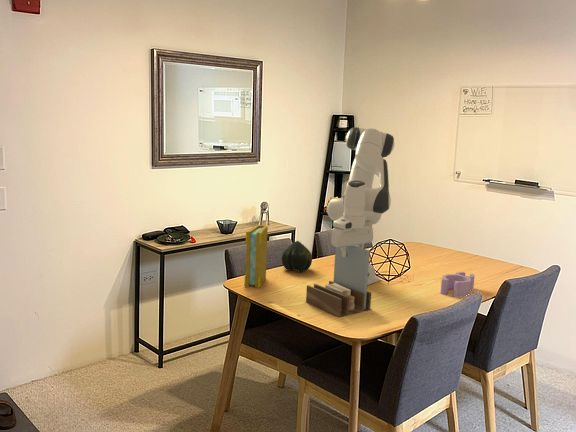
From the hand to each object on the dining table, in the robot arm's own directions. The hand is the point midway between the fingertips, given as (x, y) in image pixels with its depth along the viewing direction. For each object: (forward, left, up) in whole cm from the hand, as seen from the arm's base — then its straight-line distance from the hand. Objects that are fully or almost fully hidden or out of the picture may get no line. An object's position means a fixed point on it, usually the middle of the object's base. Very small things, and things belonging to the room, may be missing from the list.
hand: (351, 255), depth 234 cm
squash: (-15, -54, -22) cm, 60 cm away
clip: (-58, +10, -22) cm, 63 cm away
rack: (+6, 0, -22) cm, 22 cm away
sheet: (0, 0, -20) cm, 20 cm away
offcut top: (+6, 0, -15) cm, 16 cm away
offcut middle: (+6, +1, -18) cm, 19 cm away
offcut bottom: (+6, 0, -20) cm, 21 cm away
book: (+14, -47, -22) cm, 54 cm away
